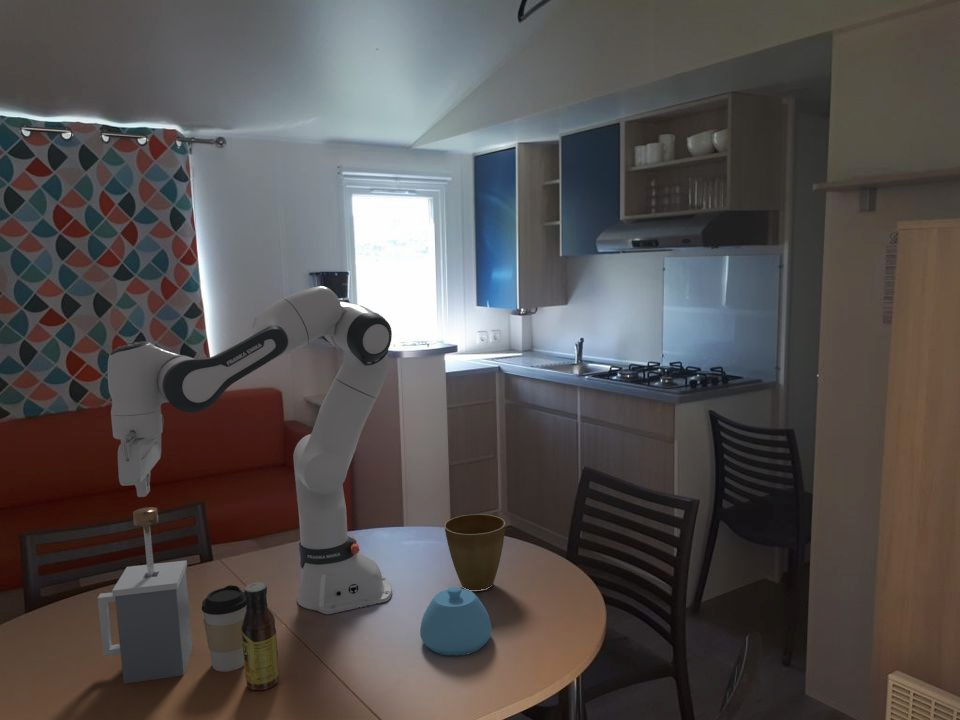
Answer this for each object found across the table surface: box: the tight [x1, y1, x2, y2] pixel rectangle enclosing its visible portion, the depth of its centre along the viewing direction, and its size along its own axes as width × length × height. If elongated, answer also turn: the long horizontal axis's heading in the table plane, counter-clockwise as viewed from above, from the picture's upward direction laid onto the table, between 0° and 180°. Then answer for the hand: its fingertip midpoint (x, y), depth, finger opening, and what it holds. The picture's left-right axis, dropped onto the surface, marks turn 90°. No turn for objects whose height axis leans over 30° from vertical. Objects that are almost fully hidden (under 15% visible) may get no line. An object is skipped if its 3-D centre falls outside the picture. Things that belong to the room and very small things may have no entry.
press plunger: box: [132, 506, 159, 578], centre depth 148 cm, size 4×4×21 cm
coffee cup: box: [201, 584, 247, 673], centre depth 150 cm, size 9×9×15 cm
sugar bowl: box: [419, 586, 493, 656], centre depth 156 cm, size 15×15×12 cm
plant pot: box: [443, 513, 506, 590], centre depth 182 cm, size 15×15×16 cm
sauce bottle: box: [241, 581, 280, 691], centre depth 142 cm, size 7×6×20 cm
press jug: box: [97, 560, 193, 685], centre depth 149 cm, size 16×12×19 cm
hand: (143, 494), depth 146 cm, fingers closed
